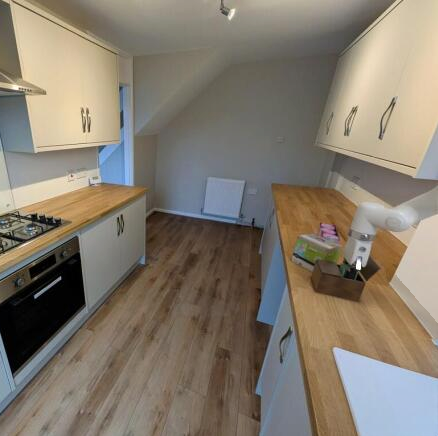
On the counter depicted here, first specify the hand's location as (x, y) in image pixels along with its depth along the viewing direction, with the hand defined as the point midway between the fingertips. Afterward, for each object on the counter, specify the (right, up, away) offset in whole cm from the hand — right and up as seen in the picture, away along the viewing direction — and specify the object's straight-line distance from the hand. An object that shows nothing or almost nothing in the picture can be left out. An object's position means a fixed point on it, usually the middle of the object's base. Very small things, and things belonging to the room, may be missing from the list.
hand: (346, 275), depth 95 cm
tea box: (0, -1, +20) cm, 20 cm away
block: (0, 0, 0) cm, 0 cm away
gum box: (+16, +4, +34) cm, 38 cm away
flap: (+5, +4, -4) cm, 7 cm away
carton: (-3, -7, +4) cm, 8 cm away
